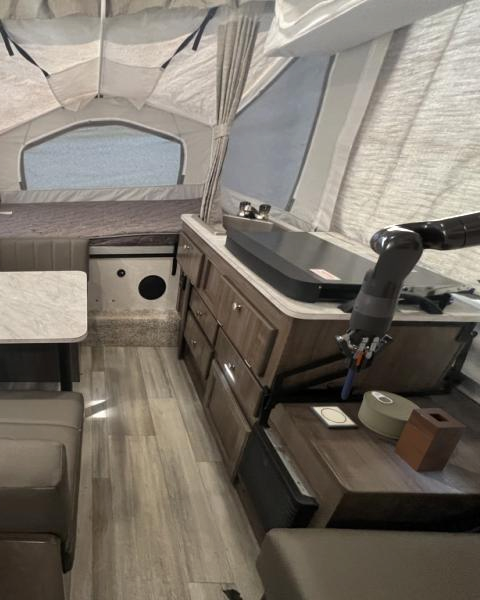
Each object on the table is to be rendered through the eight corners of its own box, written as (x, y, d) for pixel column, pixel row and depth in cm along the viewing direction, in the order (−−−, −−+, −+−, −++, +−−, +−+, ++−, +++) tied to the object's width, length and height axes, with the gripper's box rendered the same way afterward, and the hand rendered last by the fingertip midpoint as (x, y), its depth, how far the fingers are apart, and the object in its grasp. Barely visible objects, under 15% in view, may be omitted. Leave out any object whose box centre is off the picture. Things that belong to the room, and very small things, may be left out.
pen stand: (417, 450, 80) (439, 407, 75) (442, 471, 75) (467, 426, 69) (393, 450, 80) (413, 408, 75) (416, 471, 75) (438, 427, 70)
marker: (346, 397, 87) (362, 351, 82) (348, 400, 86) (363, 354, 80) (339, 395, 88) (354, 350, 82) (340, 399, 87) (355, 353, 81)
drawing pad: (336, 407, 95) (337, 405, 95) (357, 428, 88) (358, 425, 87) (309, 408, 96) (310, 406, 95) (328, 428, 88) (328, 426, 88)
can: (385, 443, 83) (394, 423, 80) (346, 411, 94) (352, 392, 91) (427, 437, 83) (437, 418, 81) (383, 406, 95) (390, 388, 92)
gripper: (356, 317, 73) (337, 378, 80) (417, 315, 73) (393, 376, 80) (333, 304, 80) (317, 361, 87) (389, 302, 80) (368, 359, 86)
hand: (353, 368), depth 83 cm, fingers closed on marker, 1 cm apart
